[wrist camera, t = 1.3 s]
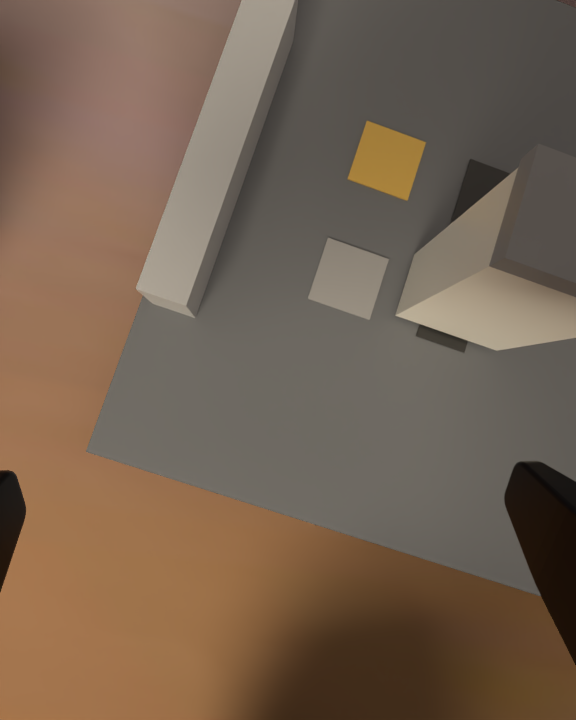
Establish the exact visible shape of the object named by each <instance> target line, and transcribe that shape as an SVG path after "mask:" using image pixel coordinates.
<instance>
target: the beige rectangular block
mask: <svg viewBox="0 0 576 720" xmlns="http://www.w3.org/2000/svg"><path fill="white" fill-rule="evenodd" d="M395 316H398V317H401V318H404V319H407V320H410V321H412V322H415V323H418V324H421V325H424V326H427V327H430V328H433V329H435V330H438V331H441V332H444V333H447V334H450V335H453V336H456V337H459V338H461V339H464V340H467V341H470V342H473V343H476V344H479V345H482V346H484V347H487V348H490V349H493V350H496V351H498V350H504V349H510V348H516V347H523V346H529V345H535V344H541V343H547V342H553V341H559V340H565V339H571V338H576V157H573V156H571V155H568V154H565V153H563V152H560V151H557V150H555V149H552V148H549V147H547V146H544V145H541V144H537V145H536V146H535V147H534V148H533V149H532V150H531V151H529V152H528V153H527V154H526V155H525V156H524V157H522V158H521V160H520V163H519V167H518V168H517V169H516V170H515V171H513V172H512V173H511V174H510V175H509V176H507V177H506V178H505V179H504V180H503V181H501V182H500V183H499V184H498V185H497V186H496V187H494V188H493V189H492V190H491V191H490V192H488V193H487V194H486V195H485V196H484V197H482V198H481V199H480V200H479V201H478V202H476V203H475V204H474V205H473V206H472V207H470V208H469V209H468V210H467V211H466V212H464V213H463V214H462V215H461V216H460V217H458V218H457V219H456V220H455V221H454V222H452V223H451V224H450V225H449V226H448V227H447V228H445V229H444V230H443V231H442V232H441V233H439V234H438V235H437V236H436V237H435V238H433V239H432V240H431V241H430V242H429V243H427V244H426V245H425V246H424V247H423V248H421V249H420V250H419V251H418V252H417V253H415V254H414V257H413V260H412V264H411V267H410V270H409V273H408V276H407V280H406V283H405V286H404V289H403V292H402V296H401V299H400V302H399V305H398V308H397V311H396V315H395Z"/></svg>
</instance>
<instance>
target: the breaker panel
mask: <svg viewBox="0 0 576 720" xmlns="http://www.w3.org/2000/svg"><path fill="white" fill-rule="evenodd" d="M537 144H541V145H544V146H547V147H549V148H552V149H555V150H557V151H560V152H563V153H565V154H568V155H571V156H573V157H576V8H575V7H572V6H570V5H567V4H565V3H562V2H560V1H557V0H242V1H241V4H240V7H239V9H238V12H237V15H236V18H235V20H234V23H233V26H232V28H231V31H230V34H229V37H228V39H227V42H226V45H225V47H224V50H223V53H222V56H221V58H220V61H219V64H218V66H217V69H216V72H215V75H214V77H213V80H212V83H211V85H210V88H209V91H208V94H207V96H206V99H205V102H204V105H203V107H202V110H201V113H200V115H199V118H198V121H197V124H196V126H195V129H194V132H193V134H192V137H191V140H190V143H189V145H188V148H187V151H186V153H185V156H184V159H183V162H182V164H181V167H180V170H179V172H178V175H177V178H176V181H175V183H174V186H173V189H172V192H171V194H170V197H169V200H168V202H167V205H166V208H165V211H164V213H163V216H162V219H161V221H160V224H159V227H158V230H157V232H156V235H155V238H154V240H153V243H152V246H151V249H150V251H149V254H148V257H147V259H146V262H145V265H144V268H143V270H142V273H141V276H140V279H139V281H138V284H137V287H136V290H138V291H139V292H140V293H141V294H142V295H143V297H142V300H141V302H140V305H139V308H138V311H137V313H136V316H135V319H134V322H133V324H132V327H131V330H130V333H129V335H128V338H127V341H126V343H125V346H124V349H123V352H122V354H121V357H120V360H119V363H118V365H117V368H116V371H115V374H114V376H113V379H112V382H111V384H110V387H109V390H108V393H107V395H106V398H105V401H104V404H103V406H102V409H101V412H100V415H99V417H98V420H97V423H96V425H95V428H94V431H93V434H92V436H91V439H90V442H89V445H88V447H87V450H86V452H88V453H92V454H95V455H98V456H101V457H104V458H107V459H110V460H114V461H117V462H120V463H123V464H126V465H129V466H132V467H136V468H139V469H142V470H145V471H148V472H151V473H155V474H158V475H161V476H164V477H167V478H170V479H173V480H177V481H180V482H183V483H186V484H189V485H192V486H195V487H199V488H202V489H205V490H208V491H211V492H214V493H217V494H221V495H224V496H227V497H230V498H233V499H236V500H239V501H243V502H246V503H249V504H252V505H255V506H258V507H261V508H265V509H268V510H271V511H274V512H277V513H280V514H283V515H287V516H290V517H293V518H296V519H299V520H302V521H305V522H309V523H312V524H315V525H318V526H321V527H324V528H327V529H331V530H334V531H337V532H340V533H343V534H346V535H349V536H353V537H356V538H359V539H362V540H365V541H368V542H371V543H375V544H378V545H381V546H384V547H387V548H390V549H394V550H397V551H400V552H403V553H406V554H409V555H412V556H416V557H419V558H422V559H425V560H428V561H431V562H434V563H438V564H441V565H444V566H447V567H450V568H453V569H456V570H460V571H463V572H466V573H469V574H472V575H475V576H478V577H482V578H485V579H488V580H491V581H494V582H497V583H500V584H504V585H507V586H510V587H513V588H516V589H519V590H522V591H526V592H529V593H532V594H535V595H538V596H541V595H540V593H539V591H538V588H537V586H536V584H535V582H534V579H533V577H532V575H531V572H530V570H529V567H528V565H527V562H526V559H525V557H524V554H523V552H522V549H521V546H520V544H519V541H518V538H517V536H516V533H515V531H514V528H513V525H512V523H511V520H510V518H509V515H508V512H507V510H506V507H505V502H504V494H505V490H506V488H507V485H508V482H509V479H510V476H511V473H512V470H513V467H514V465H515V464H516V463H517V462H520V461H540V462H543V463H544V464H546V465H548V466H550V467H551V468H553V469H555V470H557V471H558V472H560V473H562V474H563V475H565V476H567V477H569V478H570V479H572V480H574V481H576V338H571V339H565V340H559V341H553V342H547V343H541V344H535V345H529V346H523V347H516V348H510V349H504V350H498V351H496V350H493V349H490V348H487V347H484V346H482V345H479V344H476V343H473V342H470V341H467V340H464V339H461V338H459V337H456V336H453V335H450V334H447V333H444V332H441V331H438V330H435V329H433V328H430V327H427V326H424V325H421V324H418V323H415V322H412V321H410V320H407V319H404V318H401V317H398V316H395V315H396V311H397V308H398V305H399V302H400V299H401V296H402V292H403V289H404V286H405V283H406V280H407V276H408V273H409V270H410V267H411V264H412V260H413V257H414V254H415V253H417V252H418V251H419V250H420V249H421V248H423V247H424V246H425V245H426V244H427V243H429V242H430V241H431V240H432V239H433V238H435V237H436V236H437V235H438V234H439V233H441V232H442V231H443V230H444V229H445V228H447V227H448V226H449V225H450V224H451V223H452V222H454V221H455V220H456V219H457V218H458V217H460V216H461V215H462V214H463V213H464V212H466V211H467V210H468V209H469V208H470V207H472V206H473V205H474V204H475V203H476V202H478V201H479V200H480V199H481V198H482V197H484V196H485V195H486V194H487V193H488V192H490V191H491V190H492V189H493V188H494V187H496V186H497V185H498V184H499V183H500V182H501V181H503V180H504V179H505V178H506V177H507V176H509V175H510V174H511V173H512V172H513V171H515V170H516V169H517V168H518V167H519V163H520V160H521V158H522V157H524V156H525V155H526V154H527V153H528V152H529V151H531V150H532V149H533V148H534V147H535V146H536V145H537Z"/></svg>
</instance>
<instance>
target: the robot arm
mask: <svg viewBox="0 0 576 720" xmlns="http://www.w3.org/2000/svg"><path fill="white" fill-rule="evenodd" d="M504 502H505V507H506V510H507V512H508V515H509V518H510V520H511V523H512V525H513V528H514V531H515V533H516V536H517V538H518V541H519V544H520V546H521V549H522V552H523V554H524V557H525V559H526V562H527V565H528V567H529V570H530V572H531V575H532V577H533V579H534V582H535V584H536V586H537V588H538V591H539V593H540V595H541V597H542V599H543V601H544V603H545V605H546V607H547V609H548V611H549V613H550V615H551V617H552V619H553V621H554V623H555V625H556V627H557V629H558V631H559V633H560V635H561V637H562V639H563V641H564V643H565V645H566V647H567V649H568V651H569V653H570V655H571V657H572V659H573V661H574V663H575V665H576V481H574V480H572V479H570V478H569V477H567V476H565V475H563V474H562V473H560V472H558V471H557V470H555V469H553V468H551V467H550V466H548V465H546V464H544V463H543V462H540V461H520V462H517V463H516V464H515V465H514V467H513V470H512V473H511V476H510V479H509V482H508V485H507V488H506V490H505V494H504ZM25 515H26V506H25V502H24V498H23V495H22V492H21V489H20V485H19V482H18V479H17V476H16V474H15V473H14V472H12V471H9V470H1V471H0V592H1V589H2V586H3V583H4V580H5V577H6V574H7V571H8V568H9V565H10V562H11V559H12V556H13V553H14V550H15V547H16V544H17V541H18V538H19V535H20V532H21V529H22V526H23V523H24V520H25Z"/></svg>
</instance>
